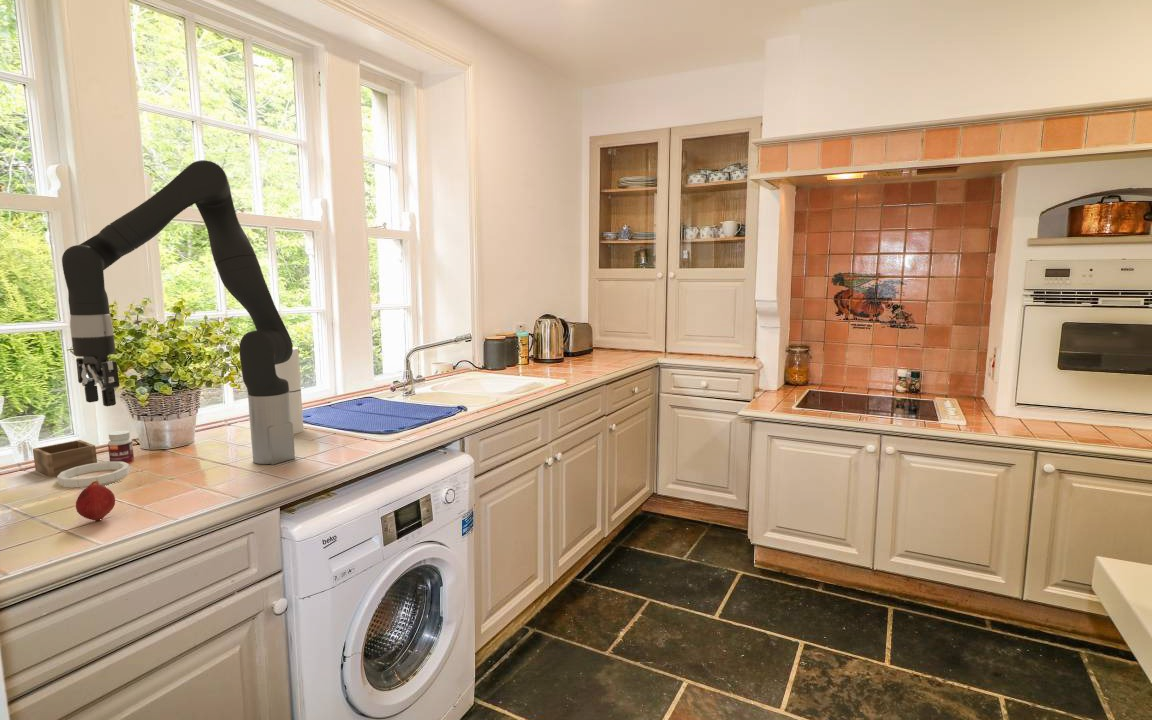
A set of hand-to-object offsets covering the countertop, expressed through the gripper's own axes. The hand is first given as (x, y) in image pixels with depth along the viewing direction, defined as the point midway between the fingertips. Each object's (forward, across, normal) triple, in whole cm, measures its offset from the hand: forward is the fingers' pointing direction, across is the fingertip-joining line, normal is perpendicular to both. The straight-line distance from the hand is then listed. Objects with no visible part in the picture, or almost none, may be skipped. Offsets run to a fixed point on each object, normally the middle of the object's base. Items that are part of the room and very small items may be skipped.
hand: (101, 403), depth 137 cm
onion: (+17, -29, +14) cm, 37 cm away
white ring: (+17, -3, +4) cm, 18 cm away
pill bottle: (+17, +4, -4) cm, 18 cm away
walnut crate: (+17, +10, +4) cm, 20 cm away
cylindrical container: (+17, -3, -45) cm, 48 cm away
